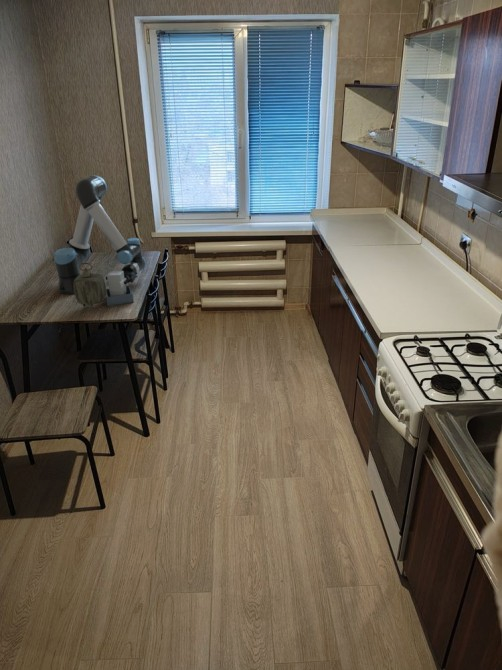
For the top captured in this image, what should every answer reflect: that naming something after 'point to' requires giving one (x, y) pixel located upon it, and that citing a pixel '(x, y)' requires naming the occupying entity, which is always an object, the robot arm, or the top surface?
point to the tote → (120, 298)
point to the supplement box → (116, 283)
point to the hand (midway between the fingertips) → (112, 285)
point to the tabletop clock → (89, 288)
